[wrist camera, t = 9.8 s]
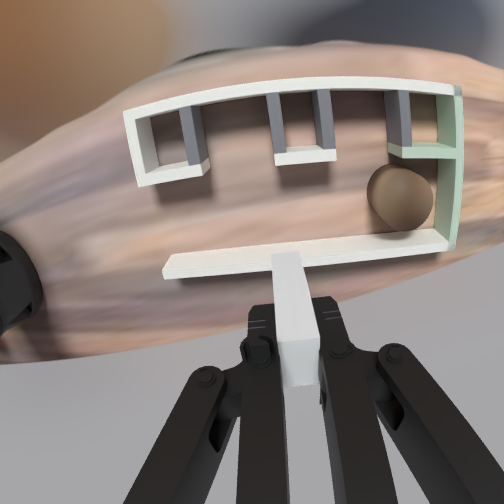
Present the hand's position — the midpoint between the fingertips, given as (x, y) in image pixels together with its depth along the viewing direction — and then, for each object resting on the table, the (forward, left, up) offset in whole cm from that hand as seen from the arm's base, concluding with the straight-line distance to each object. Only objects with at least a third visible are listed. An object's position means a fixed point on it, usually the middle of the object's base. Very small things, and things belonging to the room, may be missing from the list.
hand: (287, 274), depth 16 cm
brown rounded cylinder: (+11, 0, -13) cm, 18 cm away
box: (+3, +3, -13) cm, 14 cm away
